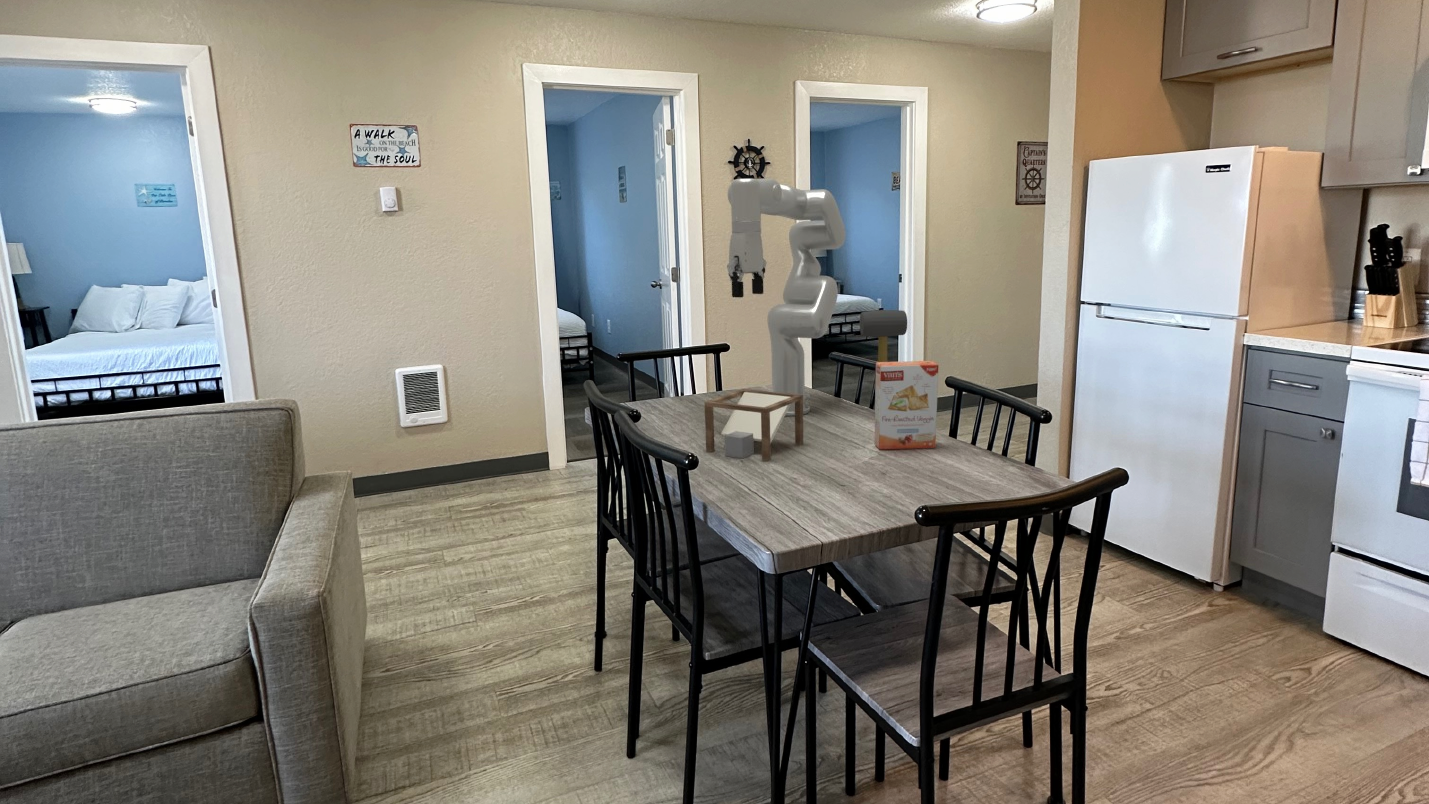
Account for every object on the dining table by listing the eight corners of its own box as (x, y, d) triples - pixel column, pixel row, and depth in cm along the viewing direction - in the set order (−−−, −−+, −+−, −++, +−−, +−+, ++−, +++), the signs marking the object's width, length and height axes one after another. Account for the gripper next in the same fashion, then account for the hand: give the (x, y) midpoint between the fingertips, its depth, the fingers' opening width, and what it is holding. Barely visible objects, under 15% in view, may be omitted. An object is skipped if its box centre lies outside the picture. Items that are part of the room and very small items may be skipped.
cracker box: (879, 450, 196) (880, 365, 191) (873, 444, 202) (874, 361, 197) (936, 448, 196) (939, 363, 192) (929, 442, 202) (932, 359, 197)
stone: (735, 431, 199) (724, 435, 195) (753, 433, 196) (741, 438, 192) (736, 450, 200) (725, 455, 196) (753, 453, 197) (742, 458, 193)
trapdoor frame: (744, 435, 214) (743, 388, 212) (803, 443, 205) (802, 395, 202) (706, 451, 200) (704, 402, 198) (767, 461, 190) (766, 409, 188)
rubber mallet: (900, 411, 235) (902, 307, 229) (906, 417, 228) (909, 310, 221) (858, 412, 235) (858, 309, 229) (862, 418, 228) (863, 312, 221)
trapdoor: (745, 394, 209) (744, 391, 209) (793, 399, 202) (791, 397, 201) (722, 436, 202) (721, 433, 202) (770, 443, 195) (769, 440, 194)
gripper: (751, 228, 217) (753, 292, 220) (715, 229, 203) (717, 298, 207) (776, 227, 213) (777, 293, 216) (740, 229, 199) (742, 299, 202)
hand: (748, 295), depth 211 cm, fingers open, 9 cm apart
